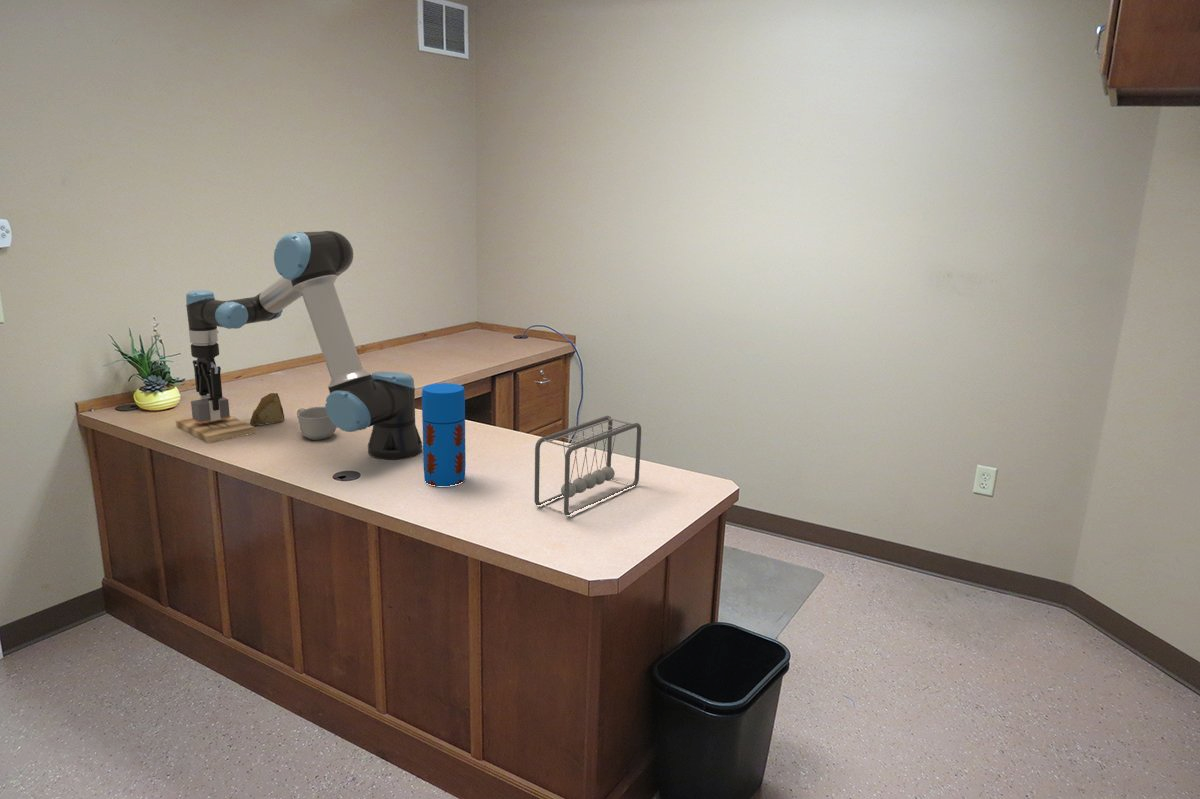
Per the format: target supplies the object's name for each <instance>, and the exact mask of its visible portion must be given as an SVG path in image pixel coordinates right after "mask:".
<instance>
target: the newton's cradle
mask: <svg viewBox="0 0 1200 799" xmlns="http://www.w3.org/2000/svg"><path fill="white" fill-rule="evenodd" d="M613 421H615V422H618V423H623V424H622V425H621V426H617V427H615V426H613ZM606 423H607V429H604V428H599V427H596V426H599V425H601V426H603V425H604V426H606ZM590 428H591V429H592V430H591V431H588V429H590ZM635 428H636V442H635V444H636V445H635V466H634V468H635V469H634V480H633V482H632V483H630V485H626V486H625V487H623V488H620V489H618V490H616V491H614V492H611V493H609V494H607V495H605V496H602V497H601V498H599V499H596V500H594V501H592V502H590V503H588V504H586V505H584V506H581V507H579V508H577V510H579V509H582V508H584V507H586V506H588V505H591V504H594V503H596V502H598V501H601V500H602V499H605V498H607V497H609V496H611V495H614V494H615V493H618V492H620V491H623V490H624V489H627V488H629V487H632V486H634V485H636V486H637V485H638V484H639V481H640V466H641V465H640V463H641V462H640V461H641V447H642V446H641V443H642V426H641V424H640V423H639V422H634V423H631V422H628V421H624V420H623V421H622V420H619V419H616V418H612V417H611V416H610V415H605V416H601V417H598V418H595V419H593V420H590V421H586V422H583V423H580V424H578V425H575V426H572V427H569V428H566V429H563V430H560V431H557V432H555V433H551V434H549V435H545V436H543V437H542V436H541V437H540V438H539V439H538V440H536V443H535V448H534V494H533V495H534V496H533V500H534V504H535V506H537V505H541V504H543V503H545V502H547V501H551V500H552V499H555V498H557V497H560V496H562V495H563V496H564V497H563V511H564V513H563V514H564V515H565V516H566V515H570V514H571V513H573V512H574V511H577V510H576V509H575V510H571V512H570V511H569V509H570V508H569V506H570V498H573V497H574V496H575V495H576V494H581V493H584V492H585V491H586V490H587V489H588V490H590V489H593V488H594V487H596V486H597V485H598V486H599V485H602V484H604V483H605V482H607V481H612V480H616V481H618V479H614V477H615V470H614V469H613V467H612V454H613V450H614V444H615V440H616V436H617V435H620V434H622V433H624V432H628V431H630V430H633V429H635ZM594 429H598V430H602V431H601V433H595V432H593V431H594ZM585 431H586V432H587V433H590V434H591V433H592V436H589V437H587V436H585V434H584V432H585ZM579 432H582V435H580V434H576V433H579ZM570 435H572V438H573V439H572V438H568V436H570ZM574 435H576V436H580V437H583V439H581V440H576V439H575V437H574ZM613 437H614V438H613ZM561 438H562V443H563V444H562V443H558V442H556V440H559V439H561ZM564 438H565V439H568V440H572V441H573V443H570V444H567V445H566V444H565V440H564ZM612 440H613V441H612ZM601 441H602V442H603V443H604V445H603V451H602V456H601V461H600V465H599V467H598V466H596V469H597V470H594V471H593V472H592V469H593V466H594V460H595V462H596V465H598V460H597V458H595V457H596V456H597V452H596V450H597V444H598V442H601ZM544 442H546V443H550V444H554V445H557V446H560V447H563V450H564V484H562V486H561V487H560V492H561V493H559V494H556V495H554V496H552V497H549V498H548V499H545V500H543V501H540V469H541V468H540V463H541V462H540V461H541V459H540V457H541V455H540V453H541V452H540V451H541V445H542V444H543V443H544ZM606 442H607V446H606ZM592 444H594V453H593V459H592V463H591V467H590V468H591V469H590V473H589V472H587V474H586V473H585V475H583V469H584V466H585V460H586V463H588V459H587V452H588V451H587V450H588V446H590V445H592ZM565 448H567V450H566V449H565ZM581 448H584V452H585V454H584V459H583V463H582V464H583V465H582V469H581V474H580V473H577V477H576V478H575V479H574V480H573V481H572V476H573V472H574V466H575V462H576V464H578V460H577V459H578V458H577V453H578V450H579V449H581ZM605 448H606V449H605ZM573 451H574V454H575V456H574V460H573V464H572V471H570V470H571V469H570V468H571V465H570V463H571V456H572V455H571V454H572V453H573ZM605 452H606V453H607V454H606V453H605ZM594 458H595V459H594ZM603 458H605V460H606V462H605V466H604V467H602V463H603ZM578 466H579V465H576V470H577V472H579V468H578ZM588 466H589V465H588V464H586V469H587V471H589V467H588ZM598 468H599V469H598ZM570 472H571V473H570ZM570 474H571V475H570ZM579 474H580V476H579ZM611 479H612V480H611ZM571 481H572V482H571ZM616 481H615V482H616Z"/></svg>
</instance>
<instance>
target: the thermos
mask: <svg viewBox="0 0 1200 799" xmlns="http://www.w3.org/2000/svg"><path fill="white" fill-rule="evenodd" d="M421 389H422V390H421V391H422V392H421V415H422V416H421V418H422V419H421V420H422V421H421V422H422V424H421V425H422V454H423V455H422V456H423V458H422V460H423V461H422V462H423V475H424V482H425V481H426V483H428V484H431V485H435V486H450V485H455V484H459V483H461V482H463V481H464V480H465V481H466V464H467V463H466V461H467V460H466V397H465V396H466V394H465V393H466V392H465V387H464V386H463V385H461V384H458V383H450V382H440V383H439V382H438V383H430V384H425V385H424V386H423V387H422V388H421ZM465 481H464V482H465ZM464 482H463V483H464ZM426 483H425V484H426ZM428 484H427V485H428Z"/></svg>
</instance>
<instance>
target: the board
mask: <svg viewBox="0 0 1200 799" xmlns="http://www.w3.org/2000/svg"><path fill="white" fill-rule="evenodd" d="M175 424H176V427H177V428H178V427H179V428H178V429H180V428H181V430H182V429H183V430H182V431H184V432H186V433H188V434H189V435H192V436H194V437H195V436H196V437H195V438H197V437H198V438H197V439H200V440H201V441H203V442H205V443H207V444H210V443H211V444H212V443H215V441H216V442H220V440H221V441H224V440H223V439H226V440H229V439H228V438H230V439H233V438H232V437H235V438H238V437H237V436H240V437H242V436H241V435H244V436H247V435H246V434H249V435H251V434H250V433H254V432H255V433H256V428H255V426H251V424H250V423H247V422H245V421H242V420H240V419H238V418H236V417H233V416H232V415H230V418H228V419H223V420H218V421H213V422H207V423H202V424H199V423H197V422H195V421H193V417H192V416H191V417H187V418H181V419H175ZM255 433H254V434H255Z"/></svg>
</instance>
